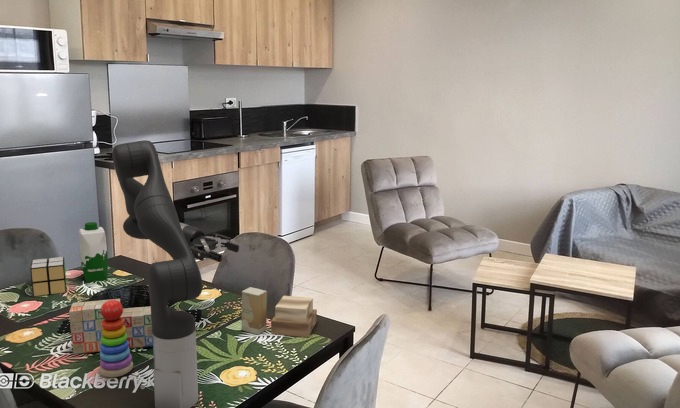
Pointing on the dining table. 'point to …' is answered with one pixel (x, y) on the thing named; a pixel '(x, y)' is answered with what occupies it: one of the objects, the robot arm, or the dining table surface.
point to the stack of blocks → (89, 327)
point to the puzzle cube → (48, 276)
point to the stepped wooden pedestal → (294, 317)
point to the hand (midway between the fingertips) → (230, 253)
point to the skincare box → (254, 310)
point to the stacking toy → (114, 342)
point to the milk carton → (93, 252)
